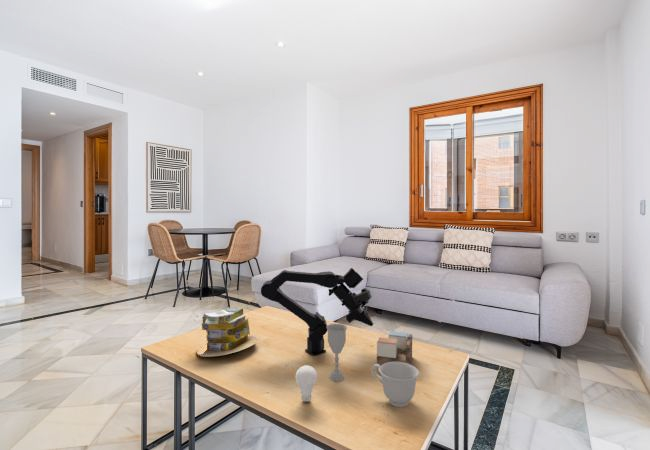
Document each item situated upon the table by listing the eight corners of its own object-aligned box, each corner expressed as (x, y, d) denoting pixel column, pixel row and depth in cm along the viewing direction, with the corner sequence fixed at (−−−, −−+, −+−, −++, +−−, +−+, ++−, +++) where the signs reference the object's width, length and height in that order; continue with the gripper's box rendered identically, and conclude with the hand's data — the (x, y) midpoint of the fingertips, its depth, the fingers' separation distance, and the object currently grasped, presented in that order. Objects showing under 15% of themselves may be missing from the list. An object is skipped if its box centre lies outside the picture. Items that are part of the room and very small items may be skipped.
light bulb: (295, 396, 108) (295, 362, 107) (316, 395, 108) (316, 361, 108) (295, 408, 101) (295, 372, 101) (317, 407, 102) (317, 371, 101)
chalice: (349, 374, 121) (349, 325, 121) (344, 384, 115) (344, 331, 114) (329, 371, 124) (329, 322, 123) (323, 380, 117) (323, 329, 117)
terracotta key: (376, 355, 127) (376, 341, 127) (378, 351, 131) (378, 337, 131) (395, 358, 125) (396, 343, 125) (397, 353, 129) (397, 339, 129)
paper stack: (183, 353, 140) (182, 313, 139) (230, 334, 161) (229, 299, 160) (224, 368, 127) (223, 324, 126) (269, 345, 148) (269, 307, 147)
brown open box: (376, 367, 127) (376, 342, 127) (381, 353, 139) (382, 330, 139) (409, 372, 123) (410, 346, 123) (412, 357, 136) (412, 333, 135)
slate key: (388, 348, 134) (388, 334, 133) (389, 344, 138) (389, 330, 138) (406, 350, 132) (406, 336, 131) (407, 346, 136) (407, 332, 136)
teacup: (380, 385, 114) (380, 355, 114) (424, 399, 106) (424, 367, 105) (363, 401, 104) (363, 369, 104) (410, 418, 96) (410, 384, 95)
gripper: (354, 288, 130) (383, 319, 127) (363, 278, 147) (389, 306, 144) (334, 307, 132) (362, 338, 129) (346, 295, 150) (371, 322, 147)
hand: (372, 325), depth 138 cm, fingers closed
